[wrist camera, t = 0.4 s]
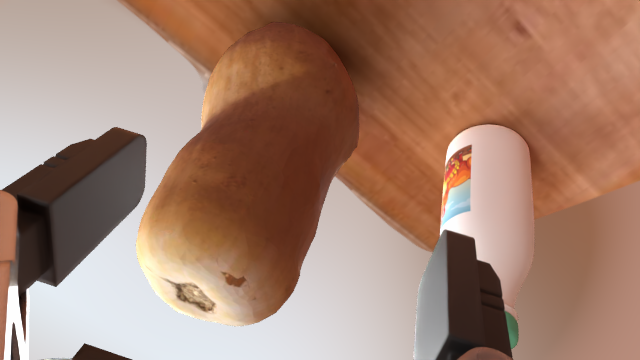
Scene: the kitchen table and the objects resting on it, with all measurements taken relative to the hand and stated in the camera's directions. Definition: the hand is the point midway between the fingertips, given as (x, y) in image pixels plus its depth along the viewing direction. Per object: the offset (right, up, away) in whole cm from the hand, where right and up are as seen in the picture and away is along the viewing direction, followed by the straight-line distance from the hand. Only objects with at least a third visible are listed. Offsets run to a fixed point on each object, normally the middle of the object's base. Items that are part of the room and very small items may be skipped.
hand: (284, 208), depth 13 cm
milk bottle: (+18, +4, +36) cm, 40 cm away
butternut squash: (0, +11, +34) cm, 36 cm away
